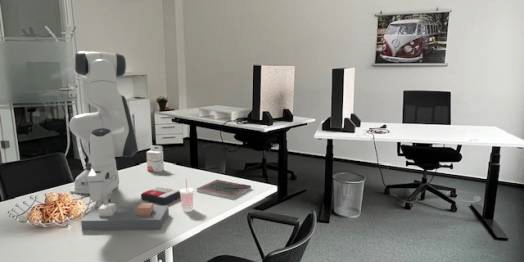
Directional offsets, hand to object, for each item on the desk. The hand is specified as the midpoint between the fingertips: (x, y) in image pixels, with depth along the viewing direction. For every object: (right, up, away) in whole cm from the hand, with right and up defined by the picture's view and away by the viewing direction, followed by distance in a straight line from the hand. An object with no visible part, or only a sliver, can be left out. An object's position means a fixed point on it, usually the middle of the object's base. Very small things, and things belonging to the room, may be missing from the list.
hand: (107, 203), depth 148 cm
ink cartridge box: (-1, +5, +72) cm, 72 cm away
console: (+7, -8, +2) cm, 11 cm away
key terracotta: (+15, -5, +1) cm, 16 cm away
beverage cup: (+29, -5, +14) cm, 33 cm away
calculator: (+14, -3, +27) cm, 31 cm away
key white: (0, -5, +1) cm, 5 cm away
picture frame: (+43, -2, +38) cm, 57 cm away
